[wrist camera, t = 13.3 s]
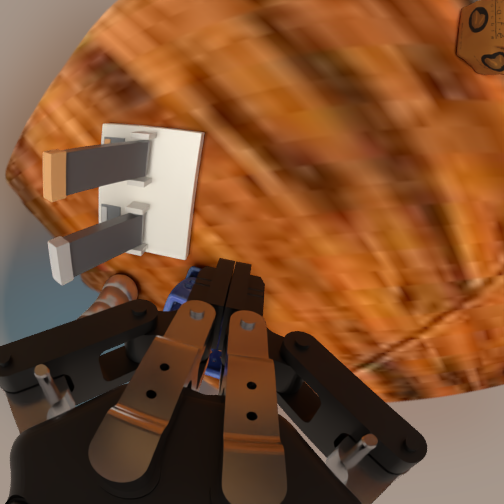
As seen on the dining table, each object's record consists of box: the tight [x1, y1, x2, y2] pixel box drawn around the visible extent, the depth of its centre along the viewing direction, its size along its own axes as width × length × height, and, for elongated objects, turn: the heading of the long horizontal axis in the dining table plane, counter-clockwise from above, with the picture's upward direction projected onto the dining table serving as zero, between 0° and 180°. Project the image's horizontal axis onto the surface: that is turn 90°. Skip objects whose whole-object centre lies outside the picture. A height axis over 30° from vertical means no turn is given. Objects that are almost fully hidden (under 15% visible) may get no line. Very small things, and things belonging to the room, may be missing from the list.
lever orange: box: [43, 140, 150, 202], centre depth 33 cm, size 2×5×16 cm, turn 169°
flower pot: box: [163, 266, 223, 379], centre depth 47 cm, size 13×13×12 cm
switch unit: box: [99, 123, 205, 260], centre depth 42 cm, size 16×20×5 cm
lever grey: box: [48, 213, 144, 285], centre depth 38 cm, size 2×5×16 cm, turn 169°
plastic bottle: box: [78, 274, 138, 319], centre depth 44 cm, size 6×7×20 cm
